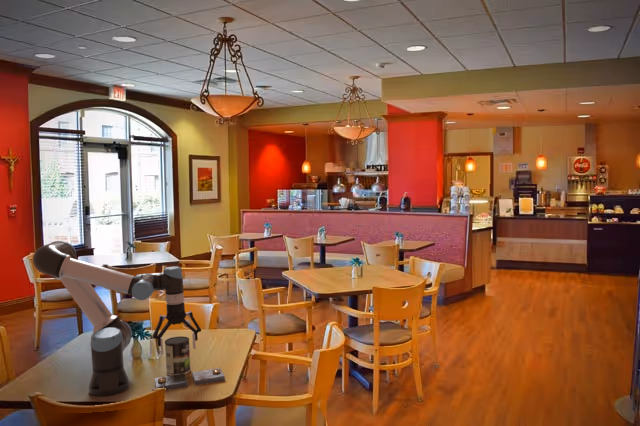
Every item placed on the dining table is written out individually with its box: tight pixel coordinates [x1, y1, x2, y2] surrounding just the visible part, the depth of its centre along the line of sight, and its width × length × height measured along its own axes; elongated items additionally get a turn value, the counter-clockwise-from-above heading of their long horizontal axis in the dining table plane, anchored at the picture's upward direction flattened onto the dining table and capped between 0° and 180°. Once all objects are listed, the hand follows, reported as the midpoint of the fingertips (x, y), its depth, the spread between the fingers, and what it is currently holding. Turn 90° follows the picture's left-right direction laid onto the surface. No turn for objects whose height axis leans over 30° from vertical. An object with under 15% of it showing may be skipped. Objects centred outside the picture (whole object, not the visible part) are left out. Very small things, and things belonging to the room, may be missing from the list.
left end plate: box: [154, 374, 189, 391], centre depth 216 cm, size 12×10×3 cm
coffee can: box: [164, 336, 191, 376], centre depth 230 cm, size 10×10×14 cm
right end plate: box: [191, 367, 226, 386], centre depth 221 cm, size 12×10×3 cm
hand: (178, 350), depth 230 cm, fingers open, 13 cm apart
